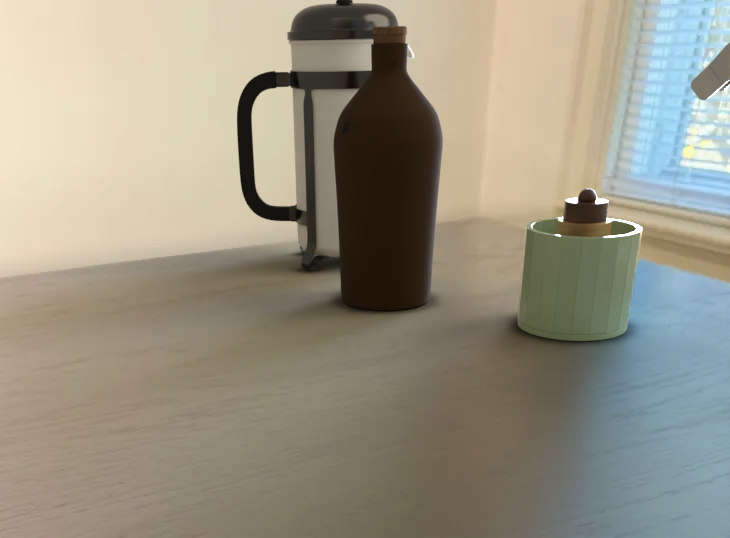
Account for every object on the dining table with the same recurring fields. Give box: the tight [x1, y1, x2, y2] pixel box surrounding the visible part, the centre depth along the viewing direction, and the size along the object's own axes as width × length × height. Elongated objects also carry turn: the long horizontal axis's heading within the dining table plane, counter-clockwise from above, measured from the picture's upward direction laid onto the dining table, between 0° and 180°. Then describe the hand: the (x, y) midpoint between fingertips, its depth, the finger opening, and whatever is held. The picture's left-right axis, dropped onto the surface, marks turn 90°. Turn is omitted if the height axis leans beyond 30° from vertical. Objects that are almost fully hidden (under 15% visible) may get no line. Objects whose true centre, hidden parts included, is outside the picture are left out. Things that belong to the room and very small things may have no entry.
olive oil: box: [333, 25, 444, 311], centre depth 88 cm, size 11×11×25 cm
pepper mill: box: [556, 188, 612, 237], centre depth 81 cm, size 5×5×12 cm
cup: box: [517, 216, 644, 342], centre depth 82 cm, size 10×10×9 cm
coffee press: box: [236, 0, 415, 272], centre depth 103 cm, size 17×16×30 cm
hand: (705, 88), depth 71 cm, fingers open, 8 cm apart
